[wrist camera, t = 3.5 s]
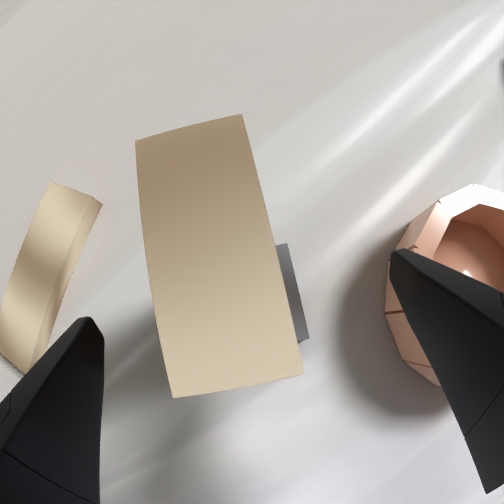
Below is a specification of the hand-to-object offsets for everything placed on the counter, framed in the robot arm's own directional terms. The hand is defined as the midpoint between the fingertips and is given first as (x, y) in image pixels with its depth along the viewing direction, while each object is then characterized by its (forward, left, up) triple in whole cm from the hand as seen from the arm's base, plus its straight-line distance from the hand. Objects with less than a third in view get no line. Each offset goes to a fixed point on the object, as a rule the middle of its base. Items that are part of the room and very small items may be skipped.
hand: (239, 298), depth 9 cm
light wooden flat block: (-12, +6, -9) cm, 16 cm away
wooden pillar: (0, 0, -8) cm, 8 cm away
